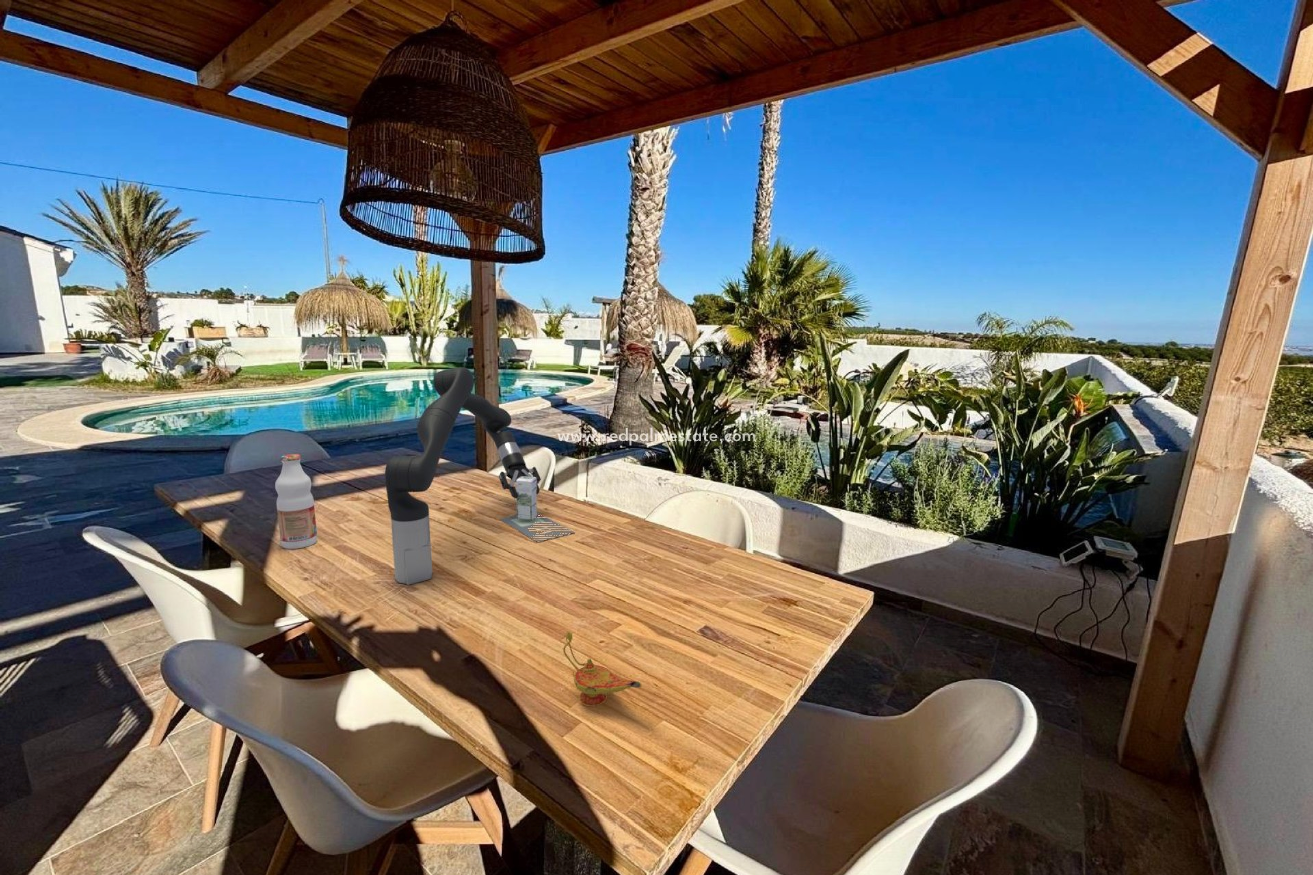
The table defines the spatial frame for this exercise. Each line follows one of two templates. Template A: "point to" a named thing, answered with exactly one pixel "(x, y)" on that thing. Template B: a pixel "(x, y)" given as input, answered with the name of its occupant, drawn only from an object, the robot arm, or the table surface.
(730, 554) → the table surface
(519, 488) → the syrup box
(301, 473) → the fruit juice
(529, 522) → the mat
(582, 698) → the magic lamp
